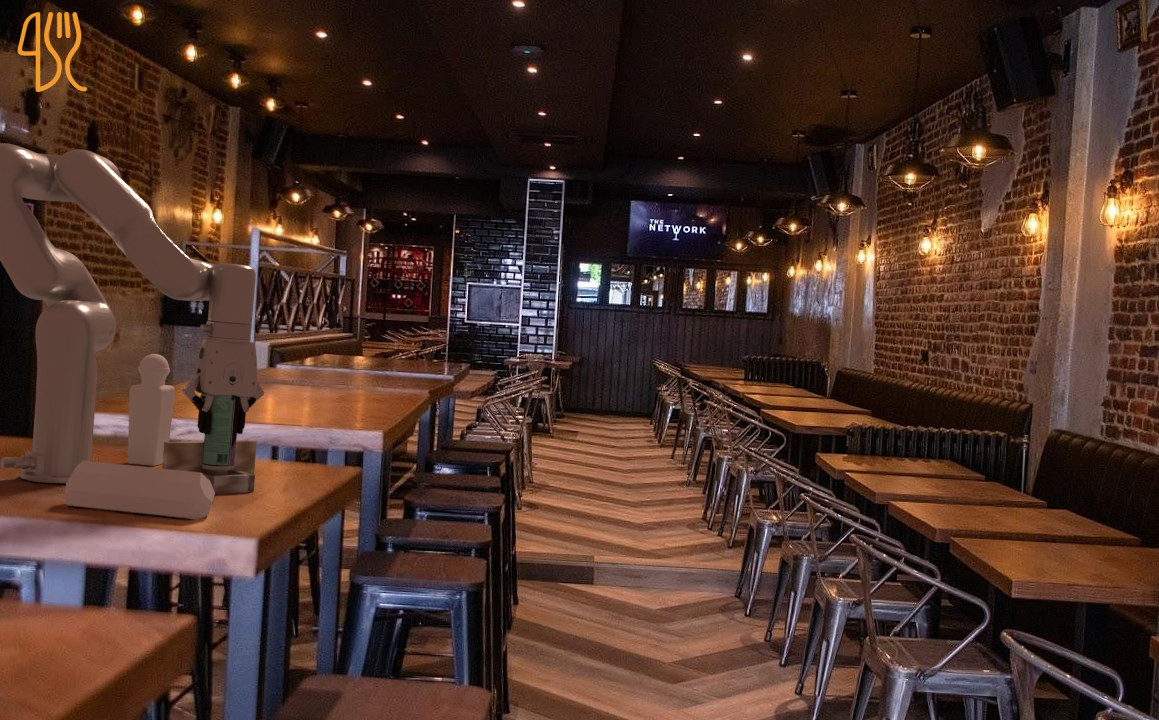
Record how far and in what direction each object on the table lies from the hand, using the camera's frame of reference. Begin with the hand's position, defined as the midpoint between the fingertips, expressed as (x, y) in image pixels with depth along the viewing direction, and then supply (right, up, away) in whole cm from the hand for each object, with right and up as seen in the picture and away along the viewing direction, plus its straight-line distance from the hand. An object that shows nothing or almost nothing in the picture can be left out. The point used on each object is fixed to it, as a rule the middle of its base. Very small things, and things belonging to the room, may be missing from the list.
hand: (220, 432), depth 187 cm
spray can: (-1, -7, 0) cm, 7 cm away
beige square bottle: (-22, -8, +22) cm, 32 cm away
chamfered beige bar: (-5, -11, -24) cm, 27 cm away
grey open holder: (0, -10, 0) cm, 10 cm away
